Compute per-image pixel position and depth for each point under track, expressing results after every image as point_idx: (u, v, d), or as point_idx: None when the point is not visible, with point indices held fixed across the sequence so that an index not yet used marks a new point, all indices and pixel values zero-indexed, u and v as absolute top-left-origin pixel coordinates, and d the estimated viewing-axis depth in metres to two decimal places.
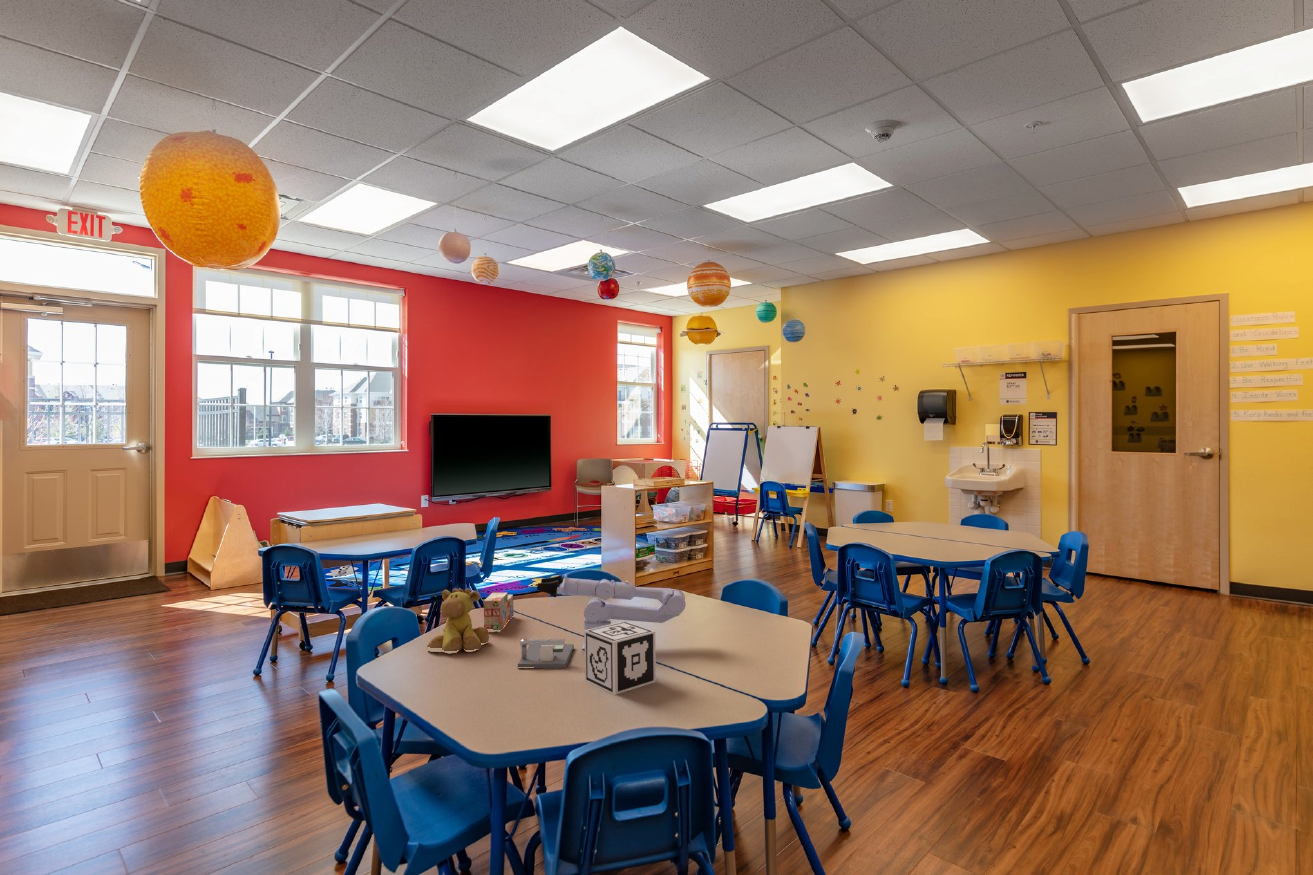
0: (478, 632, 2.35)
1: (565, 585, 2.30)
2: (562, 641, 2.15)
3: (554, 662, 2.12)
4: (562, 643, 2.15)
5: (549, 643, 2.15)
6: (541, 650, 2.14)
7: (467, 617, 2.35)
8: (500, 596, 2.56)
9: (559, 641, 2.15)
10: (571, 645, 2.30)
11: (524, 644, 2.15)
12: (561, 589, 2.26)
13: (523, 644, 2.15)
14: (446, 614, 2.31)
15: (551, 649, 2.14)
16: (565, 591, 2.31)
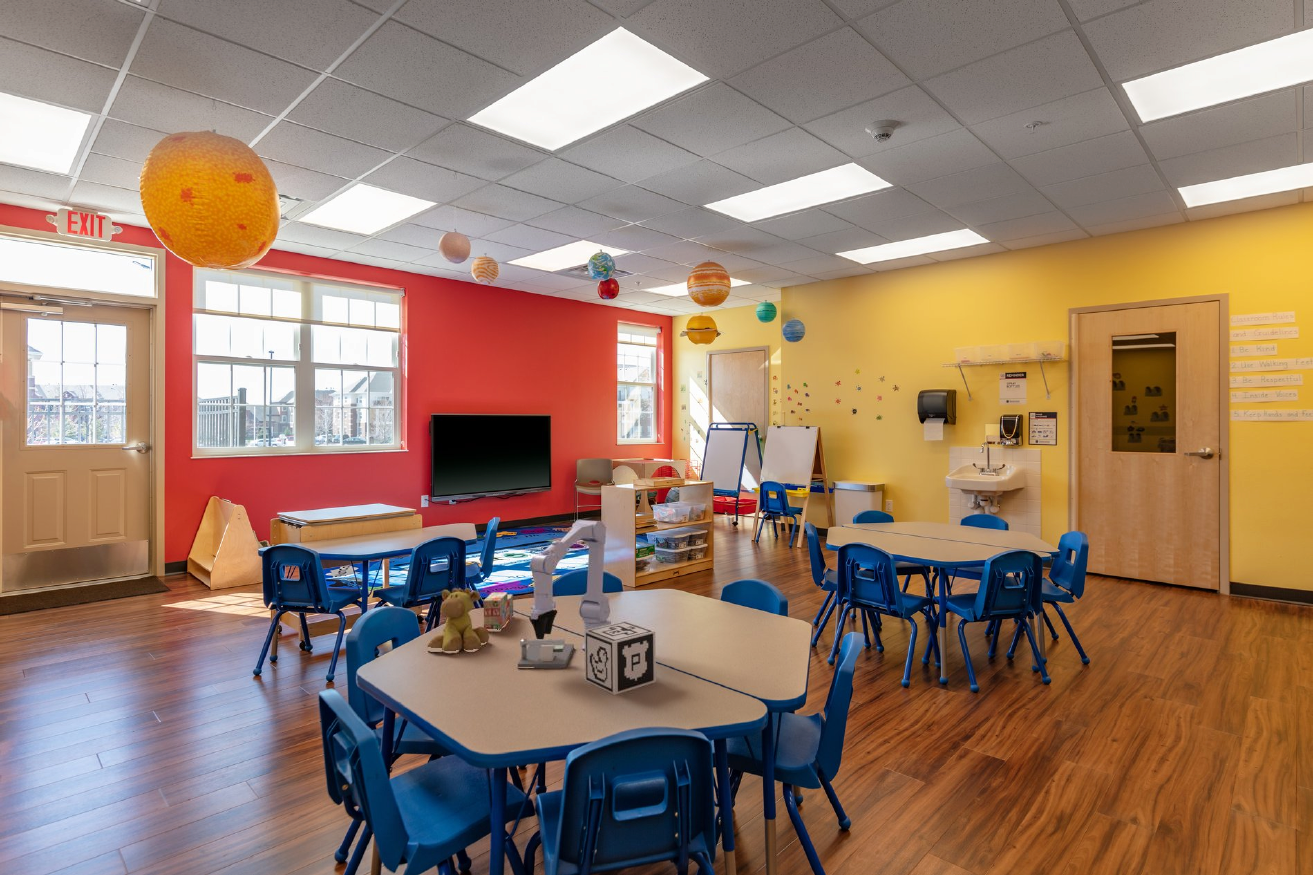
0: (478, 632, 2.35)
1: (537, 608, 2.08)
2: (562, 641, 2.15)
3: (554, 662, 2.12)
4: (562, 643, 2.15)
5: (549, 643, 2.15)
6: (541, 650, 2.14)
7: (467, 617, 2.36)
8: (500, 596, 2.57)
9: (559, 641, 2.15)
10: (571, 645, 2.30)
11: (524, 644, 2.15)
12: (531, 614, 2.03)
13: (523, 644, 2.15)
14: (446, 614, 2.31)
15: (551, 649, 2.14)
16: (543, 608, 2.08)
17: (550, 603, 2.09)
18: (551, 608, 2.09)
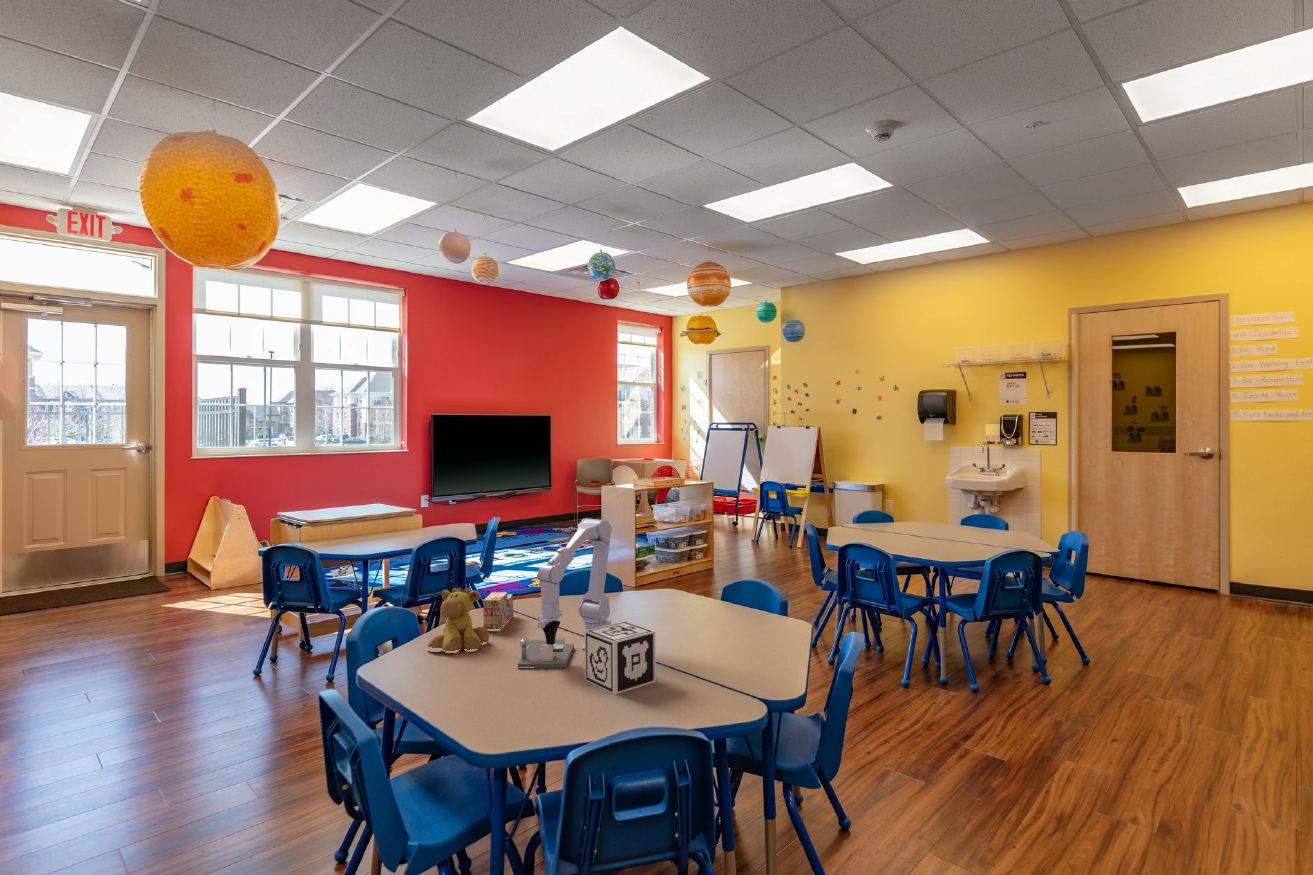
0: (478, 632, 2.35)
1: (544, 616, 2.13)
2: (563, 640, 2.16)
3: (554, 662, 2.12)
4: (563, 642, 2.16)
5: None
6: (541, 650, 2.14)
7: (467, 617, 2.36)
8: (500, 596, 2.57)
9: (560, 640, 2.16)
10: (571, 645, 2.30)
11: (524, 644, 2.15)
12: (539, 622, 2.08)
13: (523, 644, 2.15)
14: (446, 614, 2.31)
15: (551, 649, 2.14)
16: (550, 616, 2.13)
17: (557, 612, 2.14)
18: (558, 617, 2.14)
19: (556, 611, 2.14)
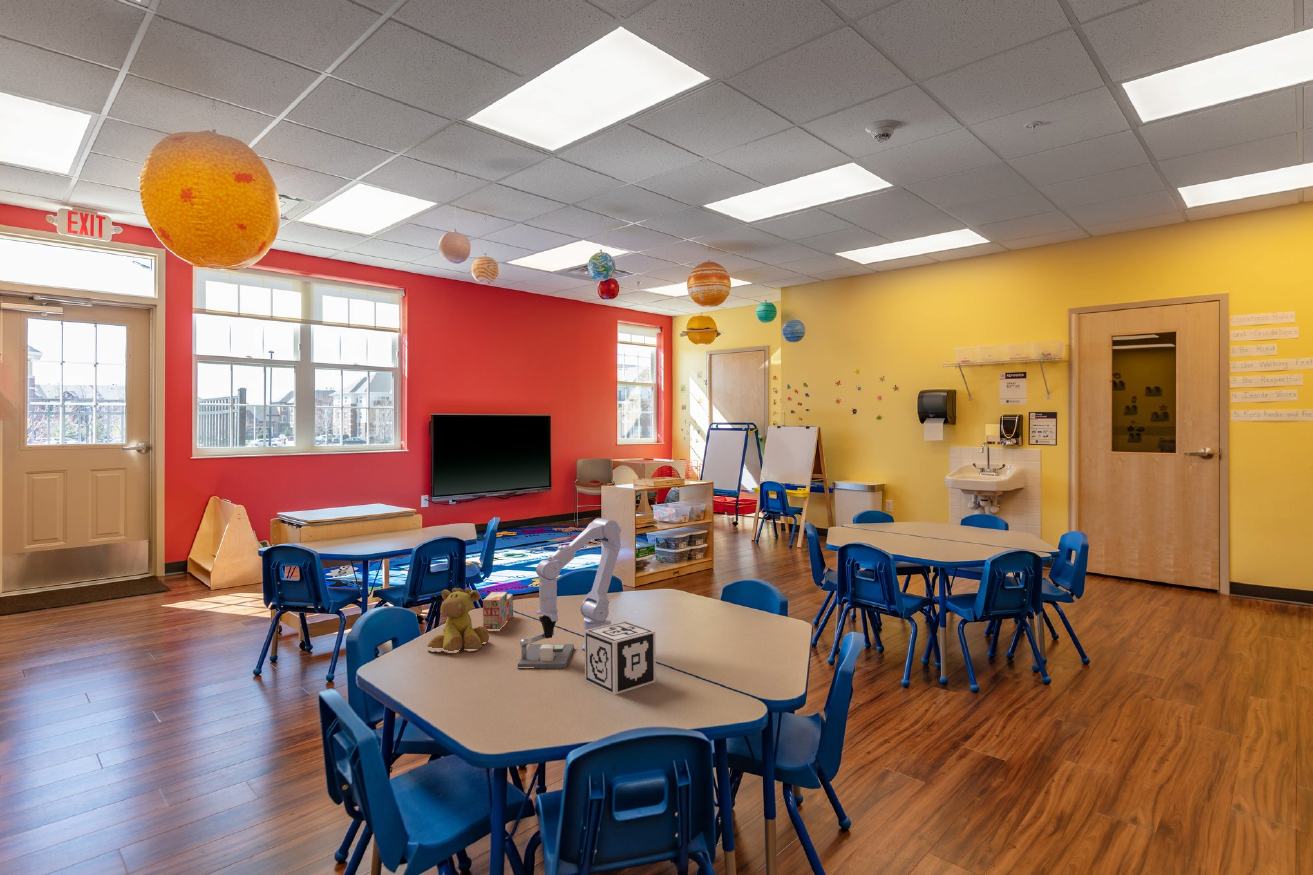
0: (478, 632, 2.35)
1: (548, 611, 2.20)
2: (553, 631, 2.26)
3: (554, 662, 2.12)
4: (553, 633, 2.26)
5: (544, 636, 2.23)
6: (541, 650, 2.14)
7: (467, 617, 2.36)
8: (499, 595, 2.57)
9: None
10: (571, 645, 2.30)
11: (527, 643, 2.16)
12: (553, 616, 2.16)
13: (526, 643, 2.16)
14: (446, 614, 2.31)
15: (551, 649, 2.14)
16: (554, 610, 2.21)
17: (556, 605, 2.23)
18: None
19: (556, 604, 2.23)
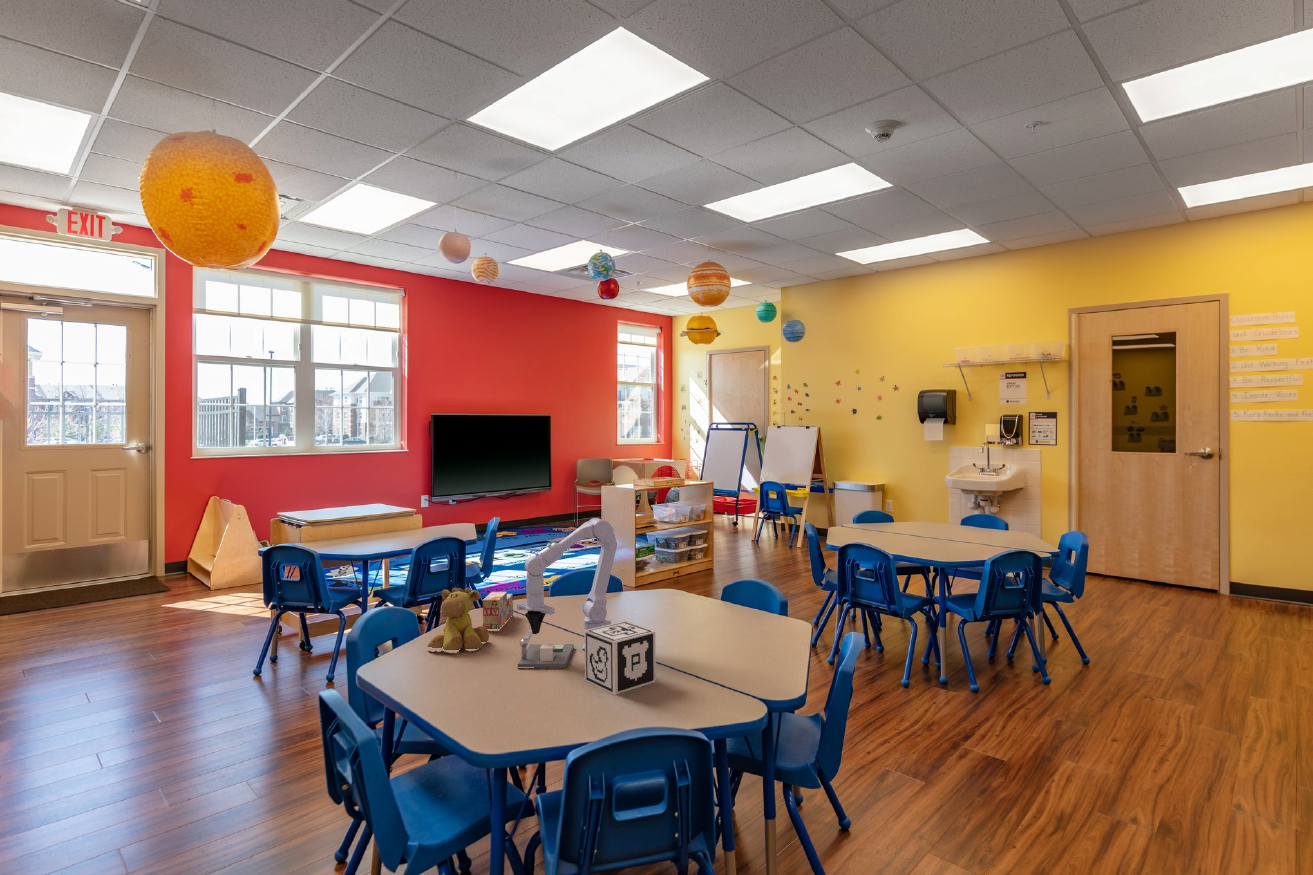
0: (478, 631, 2.35)
1: (540, 606, 2.23)
2: None
3: (554, 662, 2.12)
4: None
5: (531, 635, 2.25)
6: (541, 650, 2.14)
7: (467, 616, 2.36)
8: (499, 595, 2.58)
9: None
10: (571, 645, 2.30)
11: (527, 643, 2.17)
12: (551, 609, 2.22)
13: (527, 643, 2.16)
14: (446, 614, 2.32)
15: (551, 649, 2.14)
16: (543, 604, 2.25)
17: None
18: None
19: None
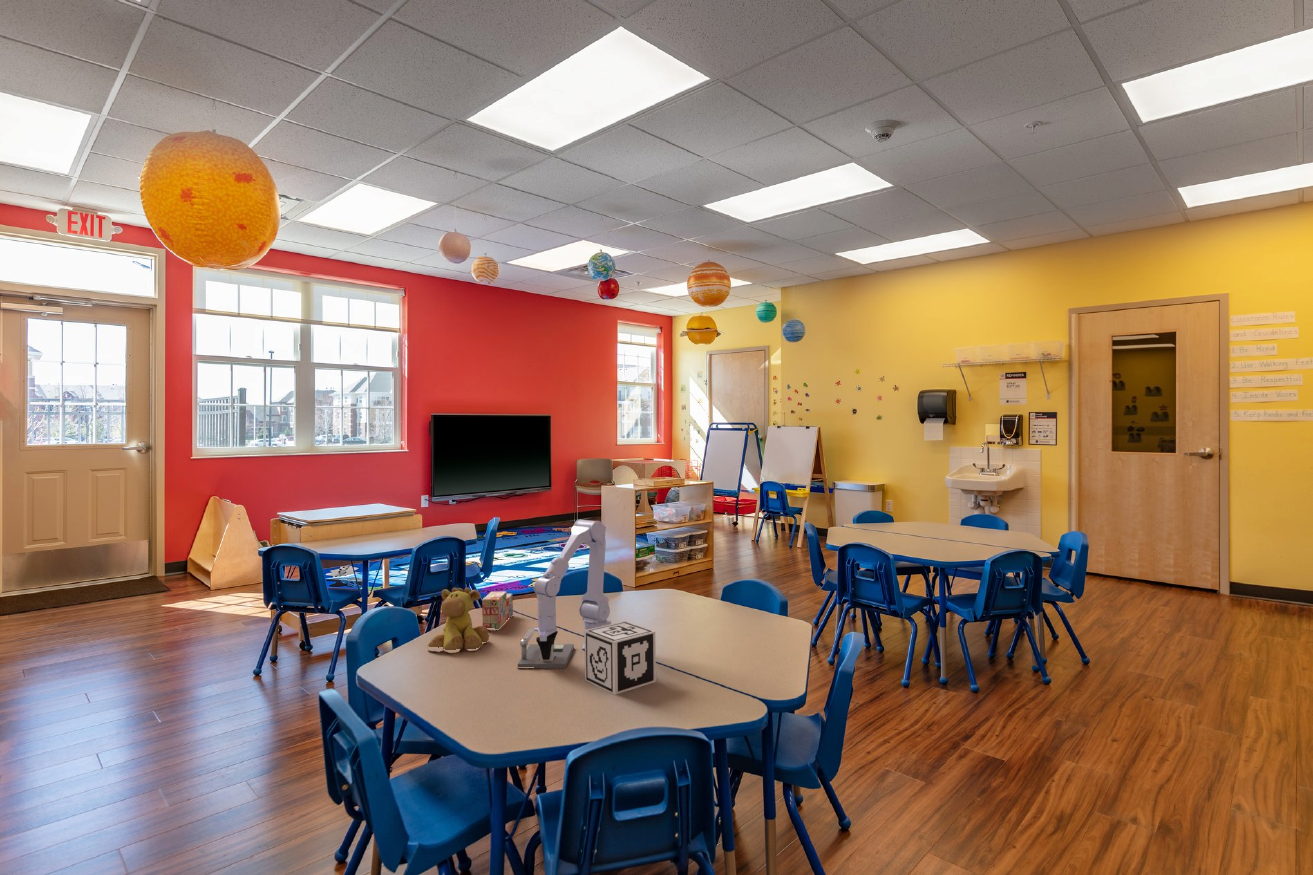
0: (478, 631, 2.36)
1: (542, 630, 2.14)
2: (533, 629, 2.29)
3: (554, 662, 2.12)
4: (533, 631, 2.29)
5: (531, 635, 2.25)
6: None
7: (467, 616, 2.37)
8: (499, 595, 2.58)
9: (533, 630, 2.28)
10: (571, 645, 2.30)
11: (527, 643, 2.17)
12: (541, 636, 2.09)
13: (527, 643, 2.16)
14: (447, 613, 2.32)
15: (551, 649, 2.14)
16: (549, 629, 2.14)
17: (555, 624, 2.15)
18: (555, 629, 2.16)
19: (554, 623, 2.15)
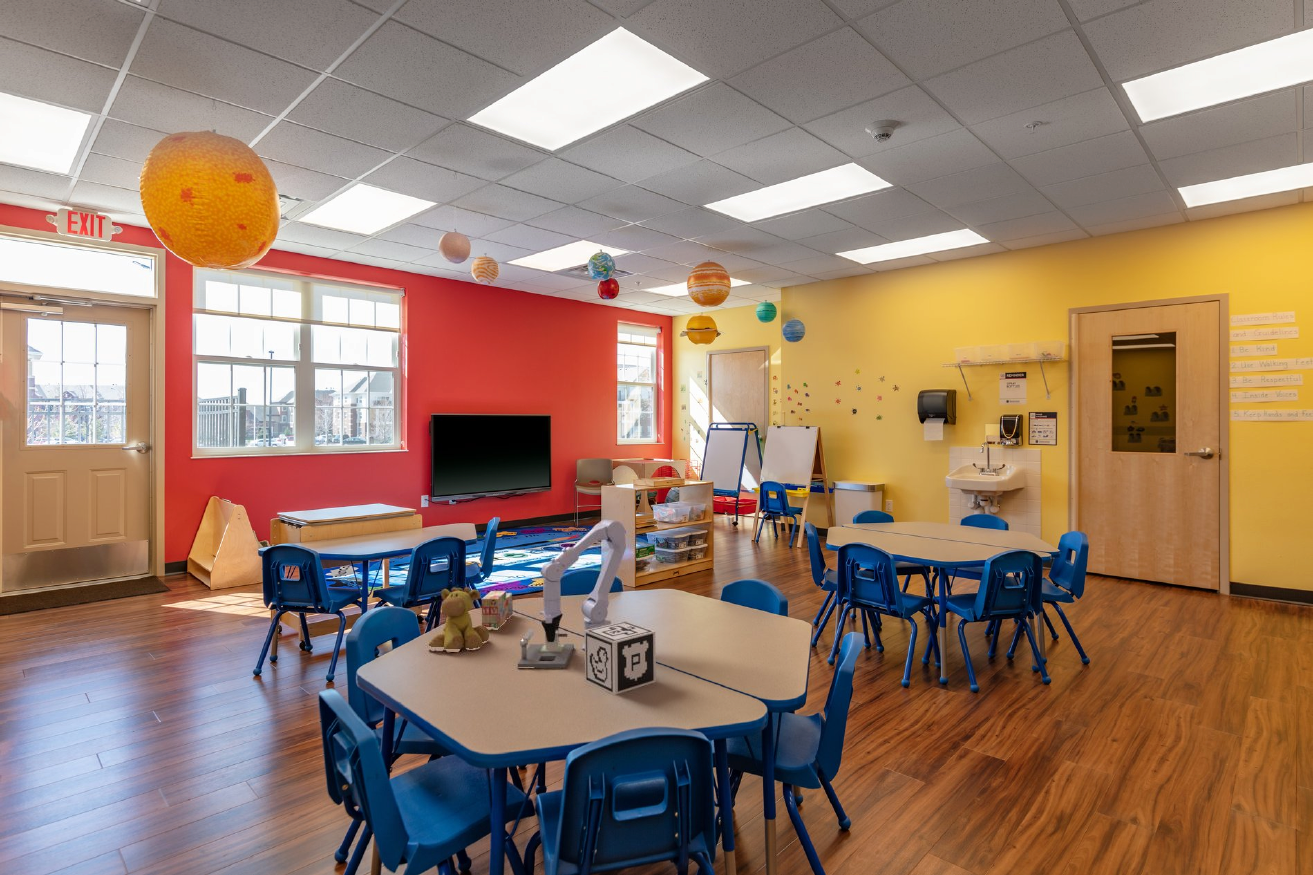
0: (479, 630, 2.36)
1: (548, 612, 2.24)
2: (533, 629, 2.29)
3: (554, 662, 2.12)
4: (533, 631, 2.29)
5: (531, 635, 2.25)
6: None
7: (467, 616, 2.37)
8: (498, 594, 2.59)
9: (533, 630, 2.28)
10: (571, 645, 2.30)
11: (527, 643, 2.17)
12: (546, 618, 2.19)
13: (527, 643, 2.16)
14: (447, 613, 2.32)
15: (556, 634, 2.24)
16: (554, 612, 2.24)
17: (559, 607, 2.25)
18: (560, 612, 2.26)
19: (559, 607, 2.25)
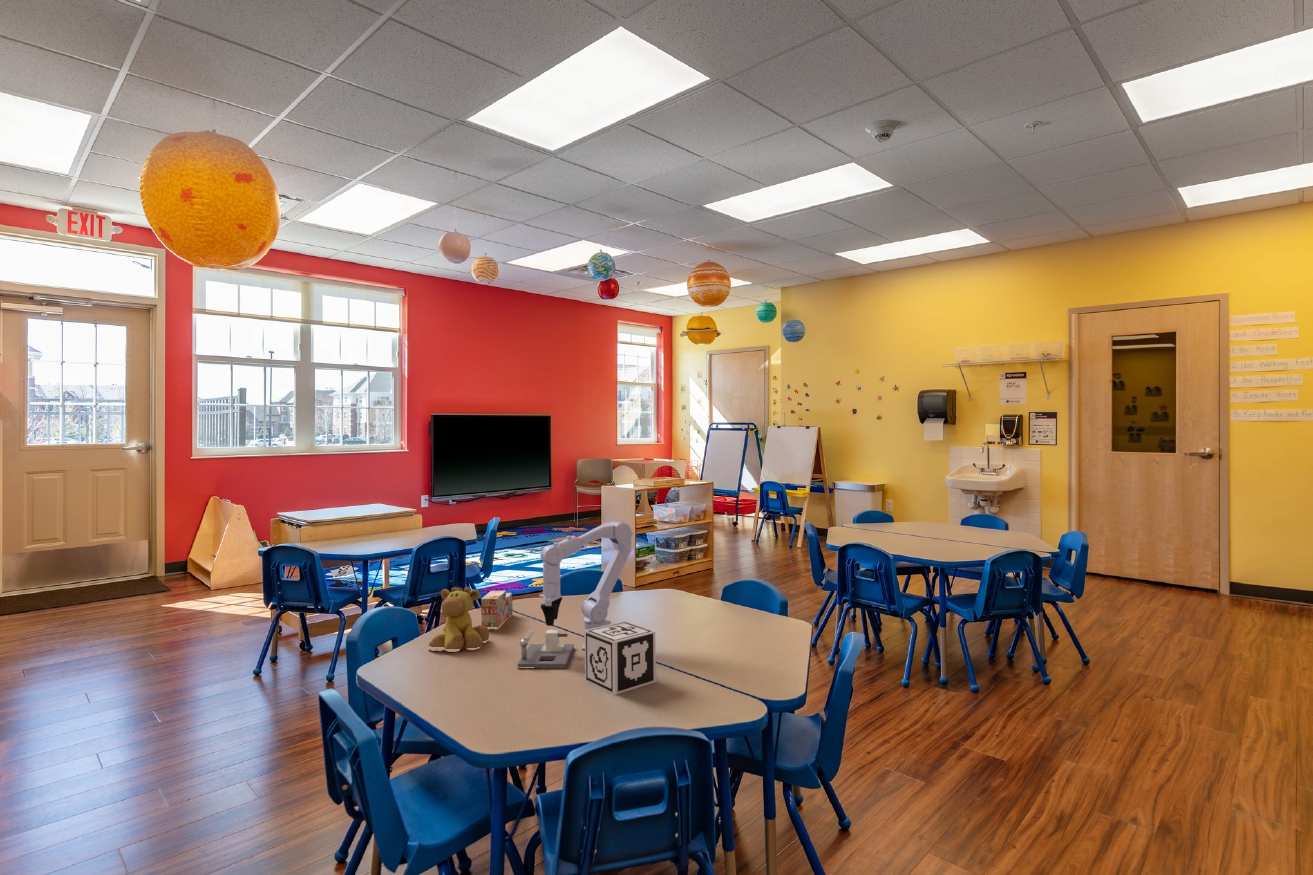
0: (479, 630, 2.37)
1: (547, 596, 2.23)
2: (533, 629, 2.29)
3: (554, 662, 2.12)
4: (533, 631, 2.29)
5: (531, 635, 2.25)
6: (546, 635, 2.24)
7: (467, 616, 2.37)
8: (498, 594, 2.59)
9: (533, 630, 2.28)
10: (571, 645, 2.30)
11: (527, 643, 2.17)
12: (546, 601, 2.19)
13: (527, 643, 2.16)
14: (447, 613, 2.33)
15: (556, 634, 2.24)
16: (554, 595, 2.24)
17: (559, 591, 2.25)
18: (560, 595, 2.26)
19: (558, 590, 2.25)
